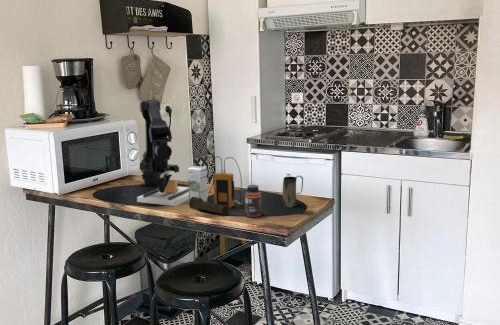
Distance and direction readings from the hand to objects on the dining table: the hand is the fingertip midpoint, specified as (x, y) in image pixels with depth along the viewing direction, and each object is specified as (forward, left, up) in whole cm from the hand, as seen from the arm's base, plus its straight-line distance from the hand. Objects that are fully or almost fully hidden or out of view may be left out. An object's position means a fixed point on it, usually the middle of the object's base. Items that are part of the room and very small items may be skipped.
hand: (162, 192), depth 208 cm
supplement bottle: (+6, +43, -4) cm, 44 cm away
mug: (-12, +52, -4) cm, 54 cm away
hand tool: (+7, +24, -4) cm, 25 cm away
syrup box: (-3, +15, -4) cm, 16 cm away
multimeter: (-5, +27, -4) cm, 28 cm away
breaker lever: (-6, 0, -1) cm, 6 cm away
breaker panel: (-6, 0, -3) cm, 7 cm away
